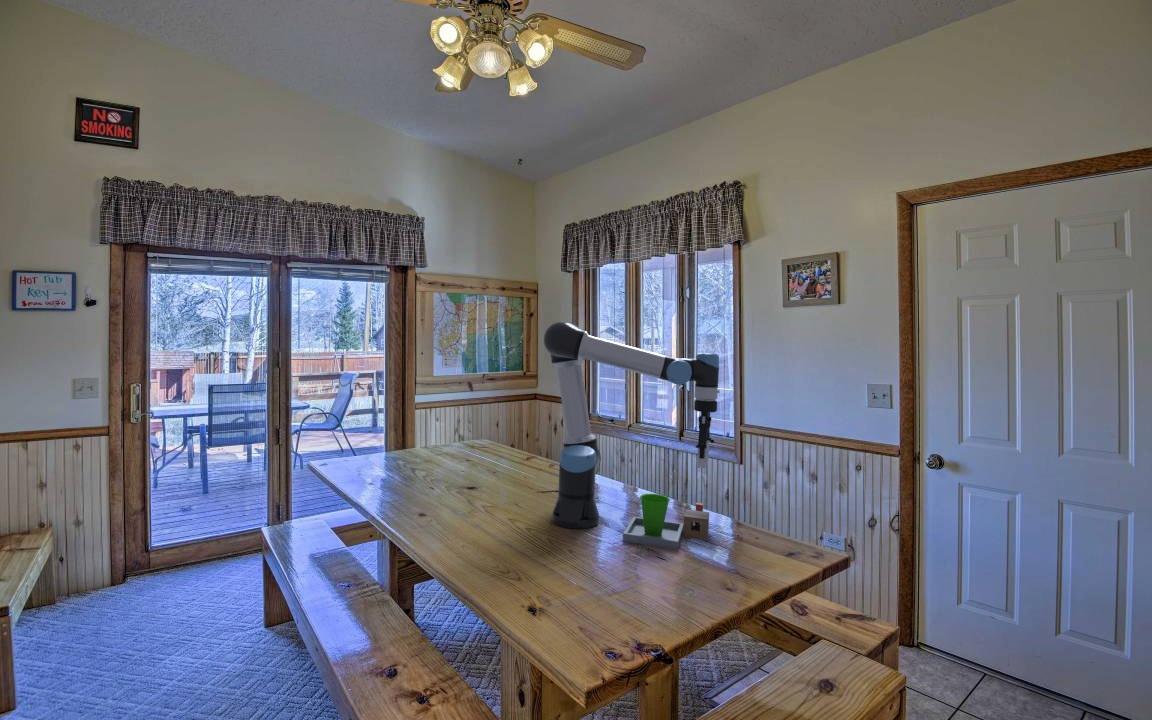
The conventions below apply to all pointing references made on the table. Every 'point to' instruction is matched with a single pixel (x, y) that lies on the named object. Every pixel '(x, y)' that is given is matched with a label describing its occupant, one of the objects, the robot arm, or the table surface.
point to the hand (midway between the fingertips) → (702, 463)
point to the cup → (654, 513)
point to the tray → (666, 539)
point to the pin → (699, 508)
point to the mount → (696, 529)
